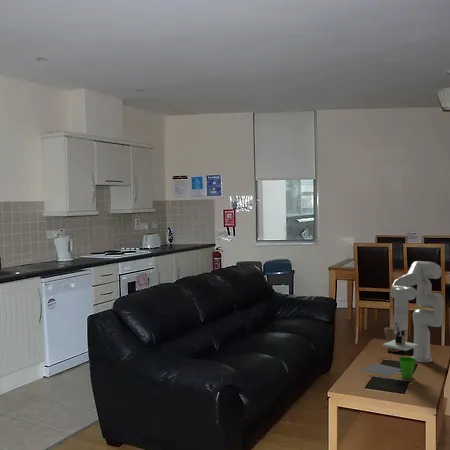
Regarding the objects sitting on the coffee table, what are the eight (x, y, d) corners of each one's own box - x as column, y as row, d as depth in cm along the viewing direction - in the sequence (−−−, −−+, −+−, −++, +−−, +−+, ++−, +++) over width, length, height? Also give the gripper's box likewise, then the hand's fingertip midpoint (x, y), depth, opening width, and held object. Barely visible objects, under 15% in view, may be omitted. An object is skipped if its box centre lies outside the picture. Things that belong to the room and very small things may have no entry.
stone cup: (385, 345, 364) (385, 324, 364) (403, 347, 359) (403, 326, 359) (382, 351, 350) (382, 328, 350) (401, 353, 345) (401, 330, 345)
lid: (394, 341, 307) (394, 331, 306) (417, 346, 297) (418, 335, 297) (382, 346, 297) (383, 335, 296) (406, 350, 287) (406, 339, 287)
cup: (416, 381, 288) (417, 361, 288) (399, 380, 290) (399, 360, 290) (414, 376, 297) (414, 357, 296) (397, 375, 299) (397, 356, 298)
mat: (374, 364, 321) (374, 363, 320) (403, 370, 308) (403, 369, 308) (360, 370, 307) (360, 369, 307) (389, 377, 295) (389, 376, 295)
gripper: (401, 307, 305) (401, 338, 305) (387, 311, 293) (387, 343, 293) (414, 309, 299) (413, 341, 300) (400, 312, 287) (399, 346, 288)
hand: (400, 342), depth 297 cm, fingers closed on lid, 4 cm apart
